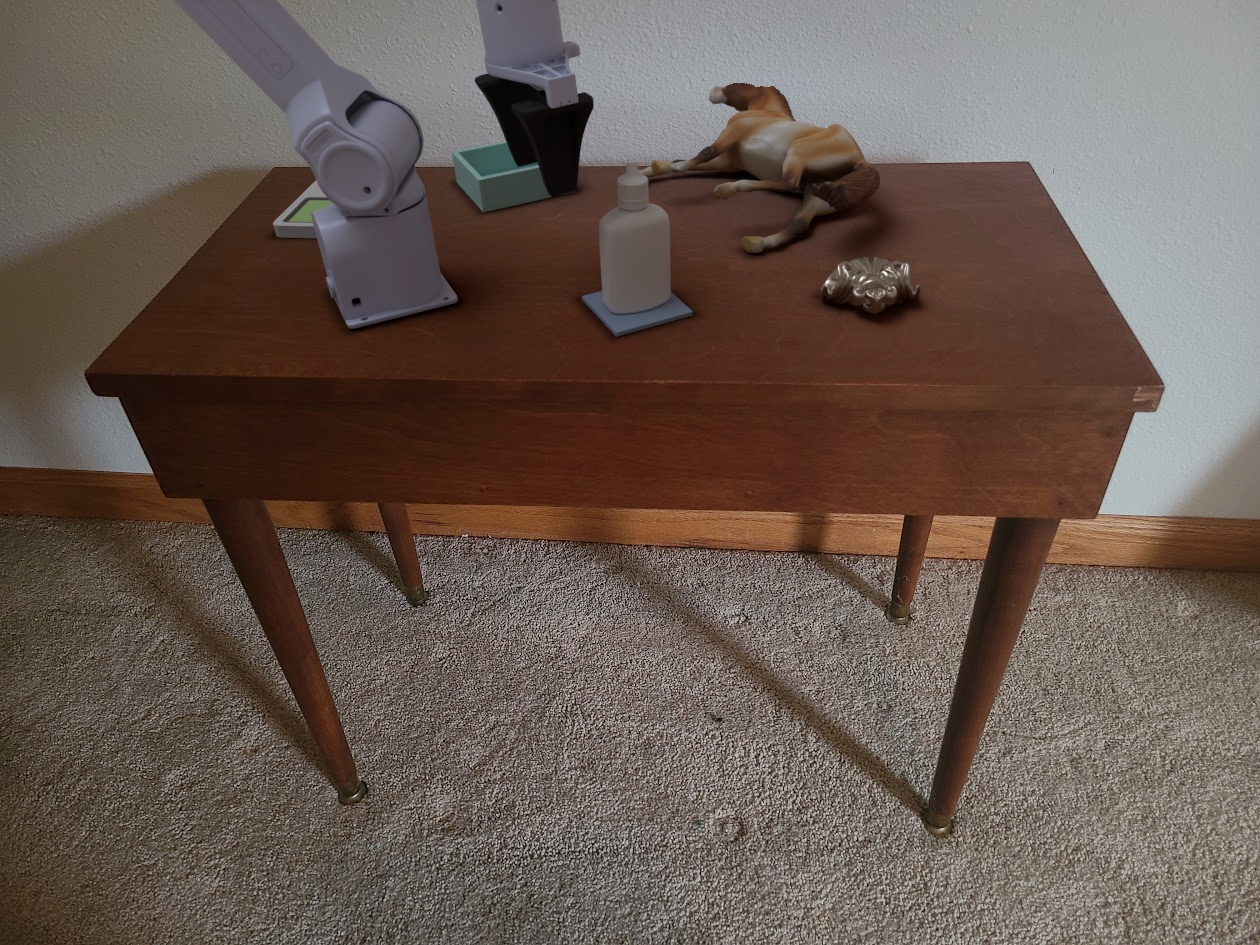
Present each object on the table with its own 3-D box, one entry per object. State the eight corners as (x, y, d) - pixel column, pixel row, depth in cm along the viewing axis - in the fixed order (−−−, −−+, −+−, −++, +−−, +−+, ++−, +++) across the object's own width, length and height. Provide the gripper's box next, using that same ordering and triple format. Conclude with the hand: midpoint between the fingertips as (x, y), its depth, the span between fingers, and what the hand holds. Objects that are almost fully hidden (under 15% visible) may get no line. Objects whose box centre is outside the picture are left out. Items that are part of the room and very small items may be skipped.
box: (483, 212, 92) (478, 180, 90) (456, 182, 99) (451, 151, 97) (574, 192, 96) (572, 160, 93) (543, 164, 102) (540, 134, 100)
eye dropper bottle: (606, 289, 78) (598, 151, 70) (671, 290, 77) (670, 150, 70) (600, 315, 75) (591, 172, 67) (668, 316, 74) (667, 172, 66)
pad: (616, 337, 73) (616, 332, 72) (581, 299, 78) (581, 295, 77) (692, 315, 75) (692, 311, 74) (654, 280, 80) (654, 276, 79)
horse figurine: (598, 120, 95) (752, 63, 102) (609, 190, 100) (755, 131, 107) (793, 205, 74) (971, 125, 81) (795, 288, 79) (962, 207, 86)
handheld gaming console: (414, 165, 99) (366, 224, 87) (417, 179, 100) (369, 239, 88) (327, 164, 100) (269, 222, 89) (331, 178, 101) (273, 237, 90)
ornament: (823, 325, 73) (827, 284, 70) (815, 284, 78) (819, 245, 76) (924, 325, 72) (932, 284, 70) (910, 284, 77) (917, 244, 75)
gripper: (608, -7, 59) (628, 193, 68) (533, -37, 70) (558, 140, 78) (507, 14, 57) (541, 217, 66) (445, -20, 68) (481, 159, 76)
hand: (545, 177), depth 72 cm, fingers open, 7 cm apart
